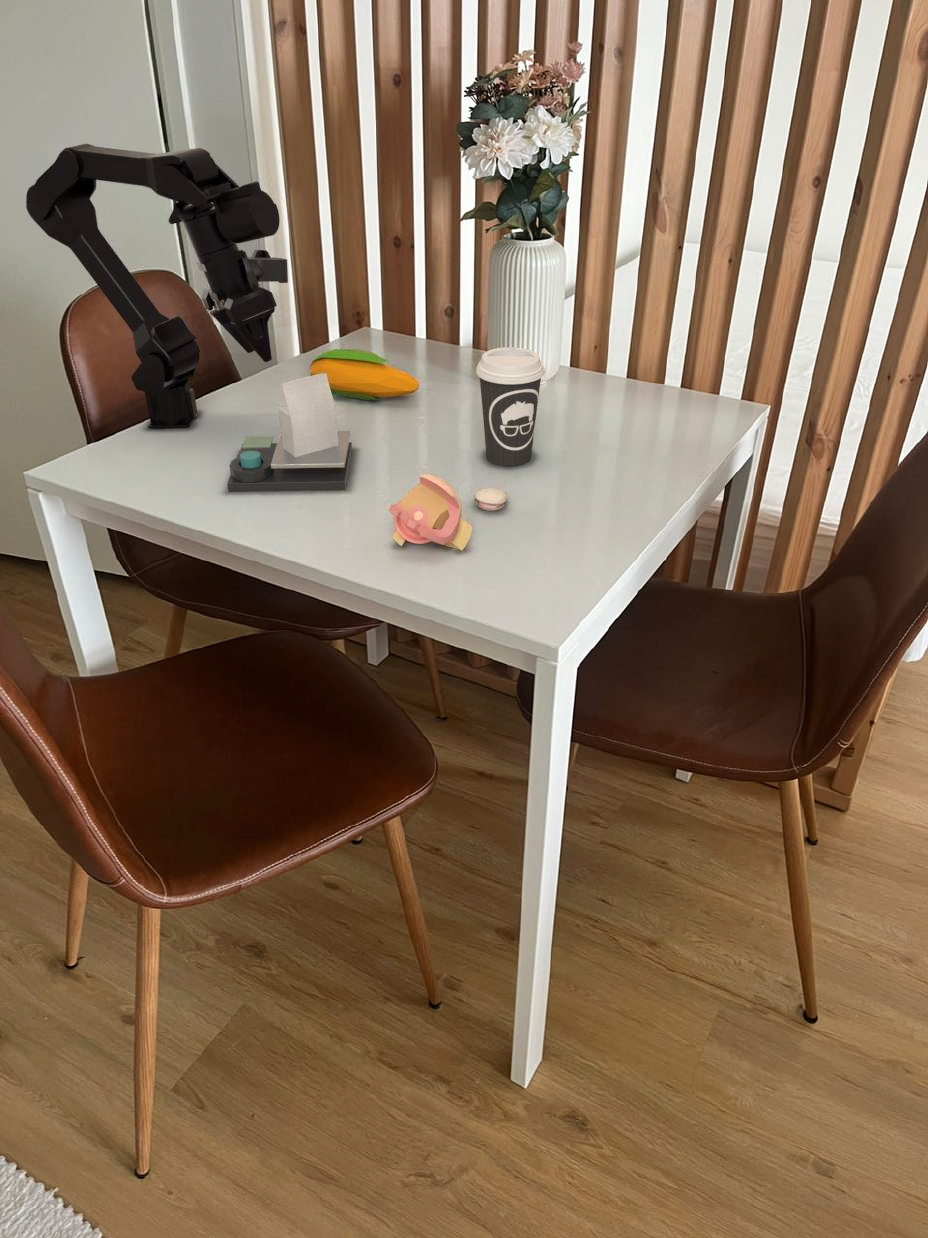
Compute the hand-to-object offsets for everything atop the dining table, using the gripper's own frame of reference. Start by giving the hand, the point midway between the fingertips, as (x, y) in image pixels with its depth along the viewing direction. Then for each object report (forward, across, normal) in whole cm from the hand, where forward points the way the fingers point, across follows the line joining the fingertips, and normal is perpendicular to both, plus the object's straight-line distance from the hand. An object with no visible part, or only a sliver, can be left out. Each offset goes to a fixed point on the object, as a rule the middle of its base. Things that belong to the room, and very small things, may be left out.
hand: (259, 356), depth 146 cm
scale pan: (+12, -13, +1) cm, 17 cm away
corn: (+15, +10, -16) cm, 24 cm away
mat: (+14, +22, -18) cm, 32 cm away
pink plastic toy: (+21, -38, -4) cm, 44 cm away
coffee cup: (+22, -21, -24) cm, 39 cm away
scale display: (+10, -7, +6) cm, 13 cm away
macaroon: (+22, -33, -15) cm, 43 cm away
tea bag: (+11, -13, +1) cm, 17 cm away
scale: (+14, -11, +4) cm, 18 cm away
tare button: (+10, -12, +9) cm, 19 cm away
